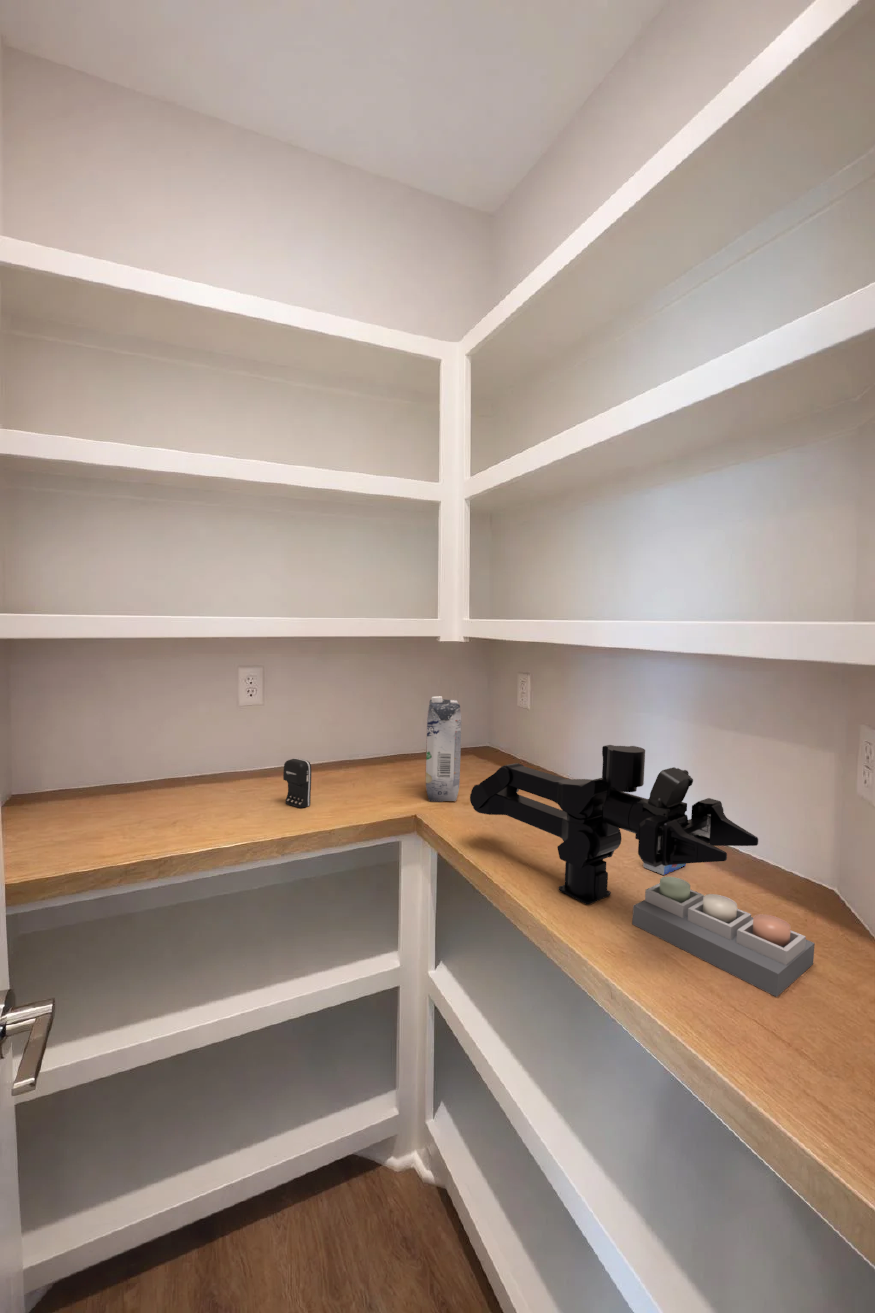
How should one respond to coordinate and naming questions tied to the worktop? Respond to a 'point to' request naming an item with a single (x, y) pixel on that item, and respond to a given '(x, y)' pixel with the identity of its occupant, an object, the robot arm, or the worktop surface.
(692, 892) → the grey button panel
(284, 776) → the battery charger
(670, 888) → the sage button
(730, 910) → the cream button
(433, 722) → the juice carton
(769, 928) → the terracotta button
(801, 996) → the worktop surface
